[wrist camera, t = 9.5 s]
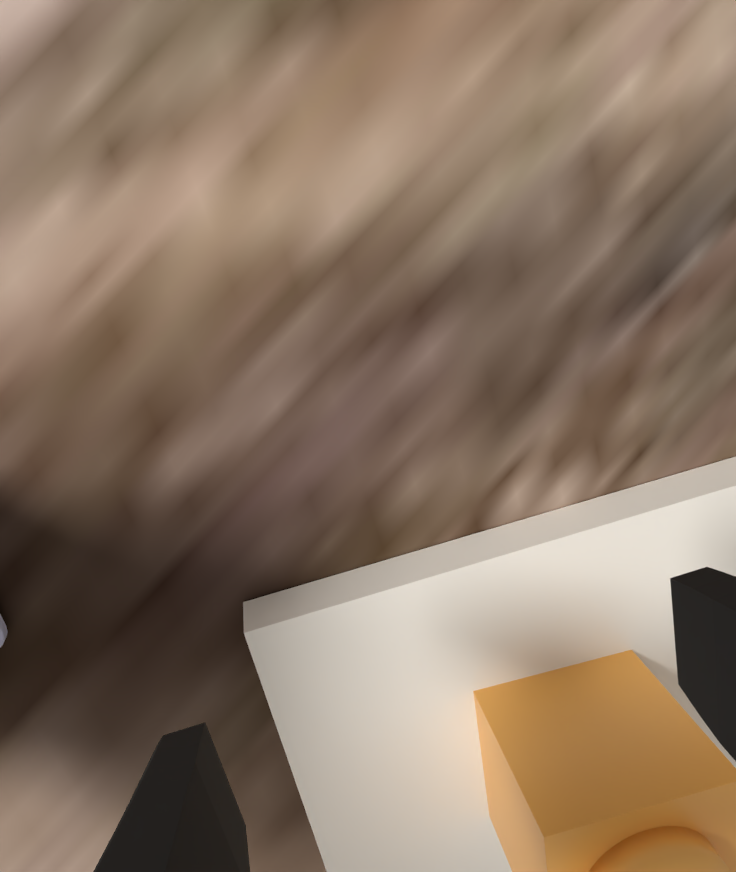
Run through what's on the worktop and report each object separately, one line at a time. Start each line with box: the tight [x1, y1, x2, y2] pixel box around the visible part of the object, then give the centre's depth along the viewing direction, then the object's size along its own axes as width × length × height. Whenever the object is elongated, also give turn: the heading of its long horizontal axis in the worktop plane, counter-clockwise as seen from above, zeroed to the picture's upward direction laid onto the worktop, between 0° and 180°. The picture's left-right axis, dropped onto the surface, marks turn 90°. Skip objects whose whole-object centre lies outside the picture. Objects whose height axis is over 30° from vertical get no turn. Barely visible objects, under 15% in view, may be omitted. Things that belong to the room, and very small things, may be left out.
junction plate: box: [243, 457, 736, 872], centre depth 21 cm, size 16×14×5 cm
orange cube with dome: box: [473, 650, 736, 872], centre depth 19 cm, size 5×5×6 cm
